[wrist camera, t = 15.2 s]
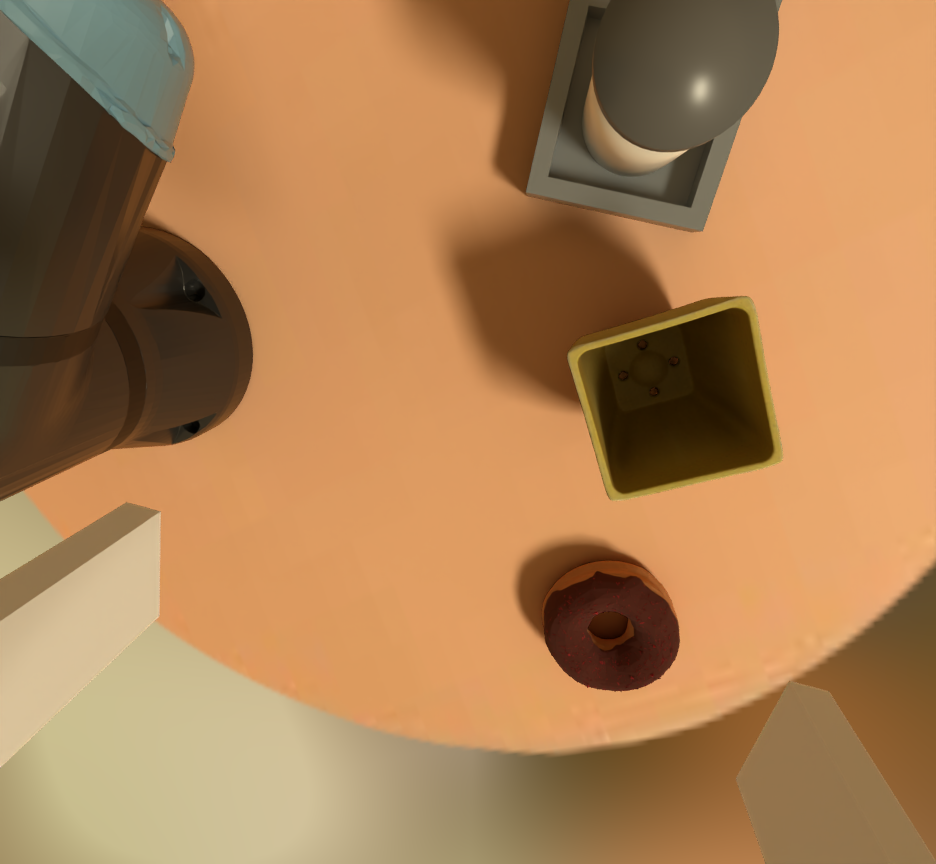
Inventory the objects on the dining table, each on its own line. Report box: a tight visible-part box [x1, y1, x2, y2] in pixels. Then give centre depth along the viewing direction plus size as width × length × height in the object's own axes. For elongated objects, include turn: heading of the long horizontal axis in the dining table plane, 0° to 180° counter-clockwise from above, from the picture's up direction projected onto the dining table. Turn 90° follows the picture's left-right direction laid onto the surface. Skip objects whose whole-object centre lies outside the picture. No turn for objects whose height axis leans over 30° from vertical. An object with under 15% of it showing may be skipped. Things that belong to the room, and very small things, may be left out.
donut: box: [542, 561, 680, 692], centre depth 40 cm, size 10×10×4 cm
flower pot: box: [567, 296, 783, 501], centre depth 31 cm, size 9×9×9 cm
